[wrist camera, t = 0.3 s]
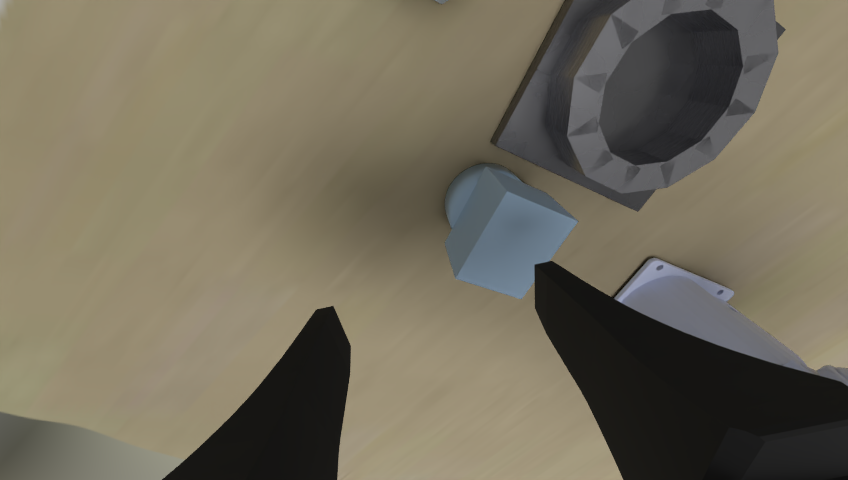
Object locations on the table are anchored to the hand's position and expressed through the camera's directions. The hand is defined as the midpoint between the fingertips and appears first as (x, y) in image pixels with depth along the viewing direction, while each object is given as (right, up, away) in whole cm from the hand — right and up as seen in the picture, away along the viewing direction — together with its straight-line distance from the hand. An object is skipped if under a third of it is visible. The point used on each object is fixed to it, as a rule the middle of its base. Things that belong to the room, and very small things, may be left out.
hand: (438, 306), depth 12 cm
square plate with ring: (+11, +11, +7) cm, 17 cm away
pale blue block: (+3, +5, +9) cm, 11 cm away
